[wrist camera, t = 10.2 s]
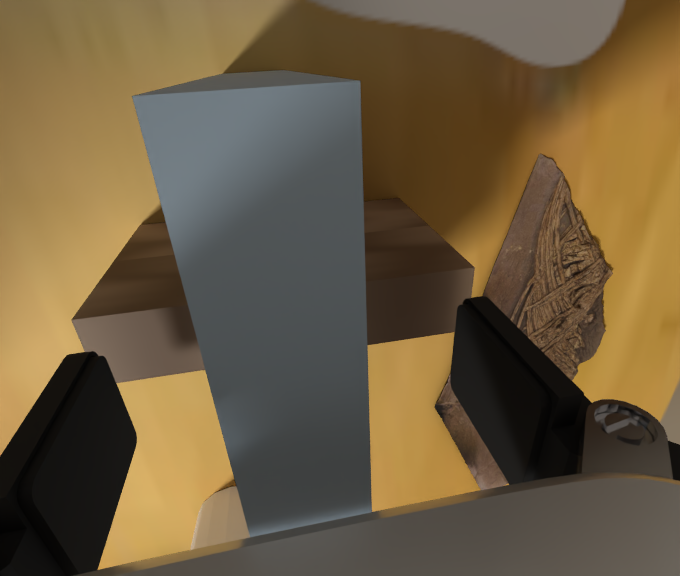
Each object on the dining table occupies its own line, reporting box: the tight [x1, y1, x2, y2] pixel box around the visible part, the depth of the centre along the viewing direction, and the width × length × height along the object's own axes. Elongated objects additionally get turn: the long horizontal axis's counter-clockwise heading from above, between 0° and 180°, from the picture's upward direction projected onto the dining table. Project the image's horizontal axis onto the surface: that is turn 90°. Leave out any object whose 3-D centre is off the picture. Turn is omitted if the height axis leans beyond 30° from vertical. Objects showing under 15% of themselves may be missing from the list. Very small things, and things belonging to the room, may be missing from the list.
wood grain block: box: [72, 198, 475, 383], centre depth 16 cm, size 12×2×8 cm, turn 93°
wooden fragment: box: [435, 154, 613, 490], centre depth 27 cm, size 26×11×1 cm, turn 1°
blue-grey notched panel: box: [132, 70, 372, 537], centre depth 14 cm, size 14×2×14 cm, turn 3°
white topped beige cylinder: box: [190, 486, 250, 550], centre depth 26 cm, size 7×7×7 cm
